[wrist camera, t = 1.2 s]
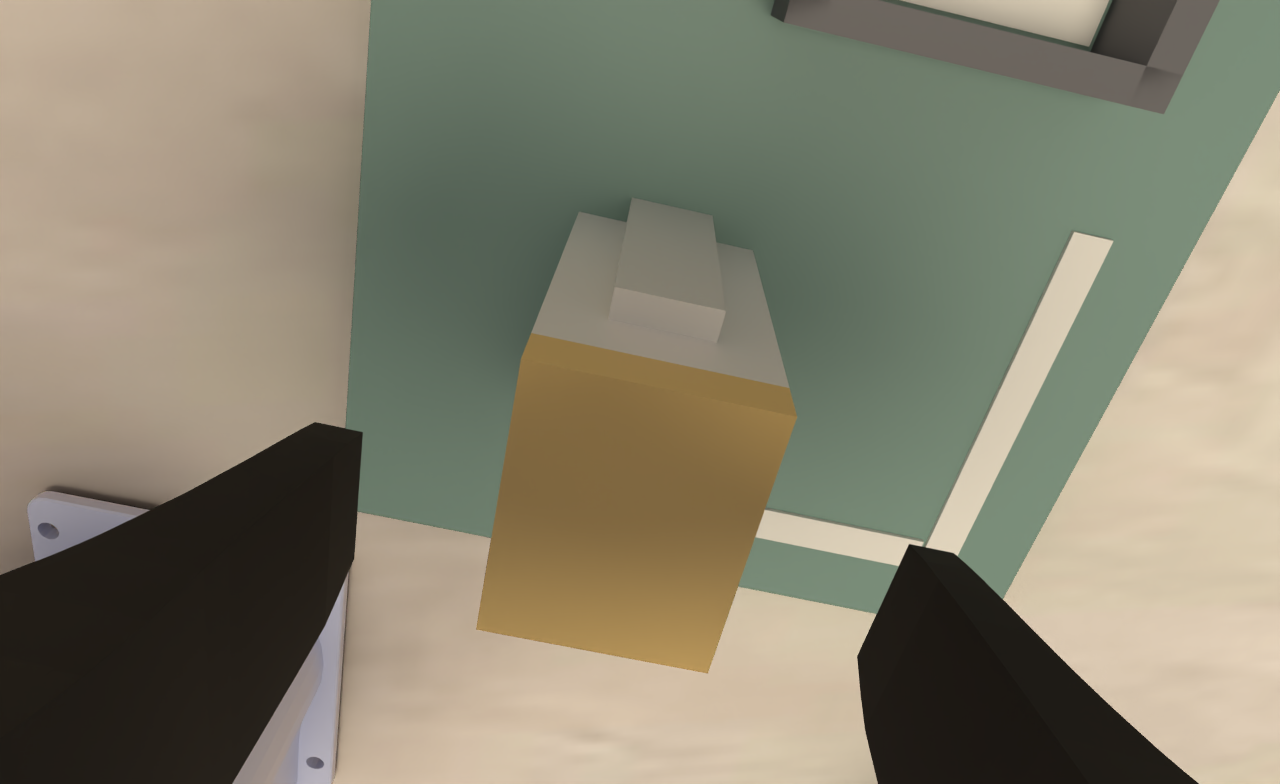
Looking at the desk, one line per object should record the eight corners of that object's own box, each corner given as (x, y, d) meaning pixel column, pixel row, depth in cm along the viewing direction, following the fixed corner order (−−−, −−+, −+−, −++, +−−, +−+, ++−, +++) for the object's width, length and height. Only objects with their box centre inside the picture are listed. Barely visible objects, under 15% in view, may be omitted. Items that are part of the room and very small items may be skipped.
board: (968, 601, 22) (1012, 697, 19) (357, 480, 21) (307, 562, 18) (1575, -566, 12) (1862, -735, 9) (455, -910, 11) (376, -1220, 8)
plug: (697, 441, 18) (707, 673, 12) (542, 409, 18) (475, 629, 12) (759, 226, 16) (809, 382, 10) (583, 186, 16) (527, 321, 10)
